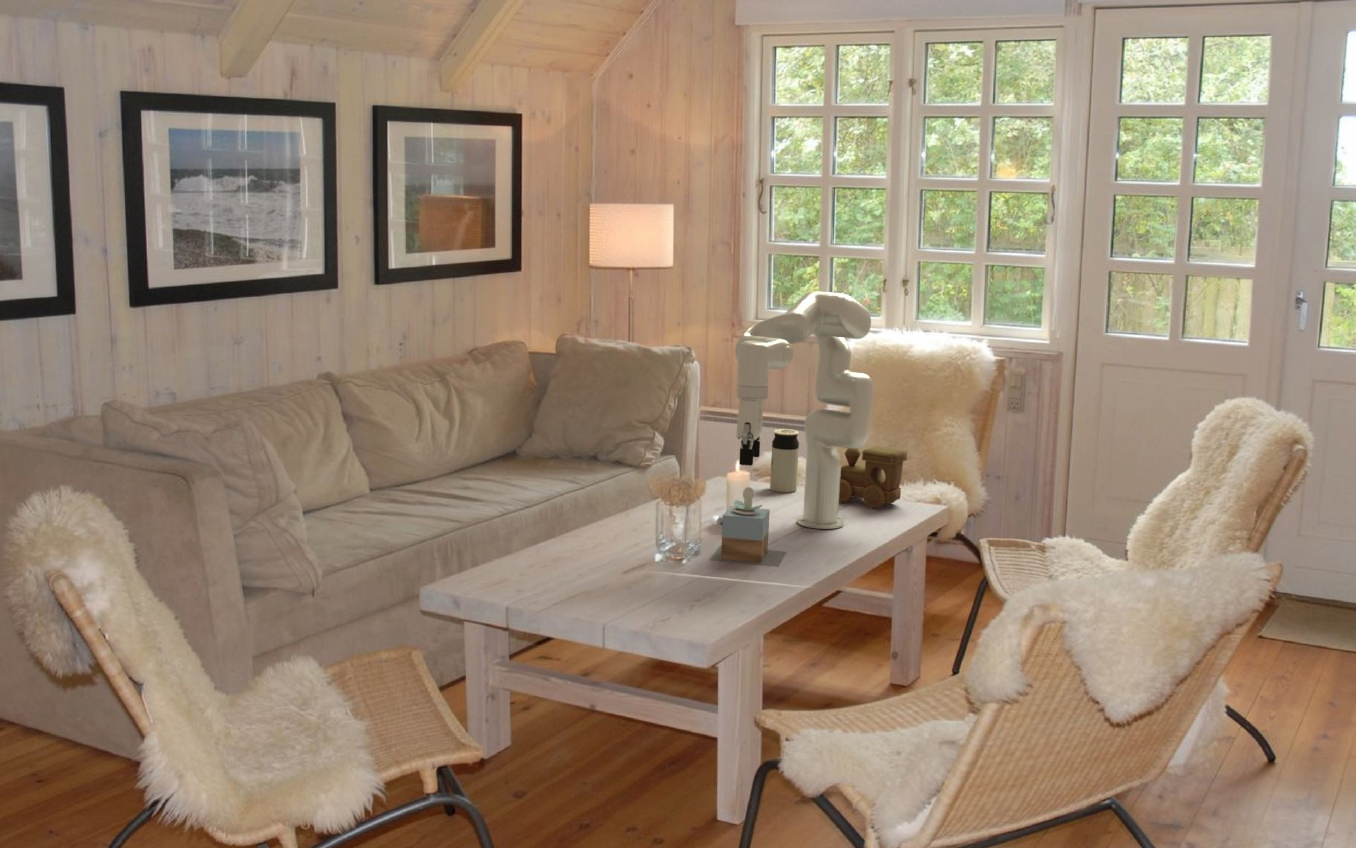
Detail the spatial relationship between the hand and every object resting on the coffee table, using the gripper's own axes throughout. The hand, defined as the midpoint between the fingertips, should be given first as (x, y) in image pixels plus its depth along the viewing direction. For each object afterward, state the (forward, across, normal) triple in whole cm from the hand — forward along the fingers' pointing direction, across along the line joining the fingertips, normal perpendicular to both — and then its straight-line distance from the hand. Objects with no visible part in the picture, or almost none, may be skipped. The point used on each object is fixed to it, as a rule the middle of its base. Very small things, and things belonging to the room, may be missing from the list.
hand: (749, 460), depth 344 cm
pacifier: (+13, +1, 0) cm, 13 cm away
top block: (+18, 0, 0) cm, 18 cm away
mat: (+24, +1, +1) cm, 25 cm away
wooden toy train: (+26, -68, +24) cm, 77 cm away
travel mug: (+26, -76, -2) cm, 80 cm away
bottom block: (+24, +1, 0) cm, 24 cm away
